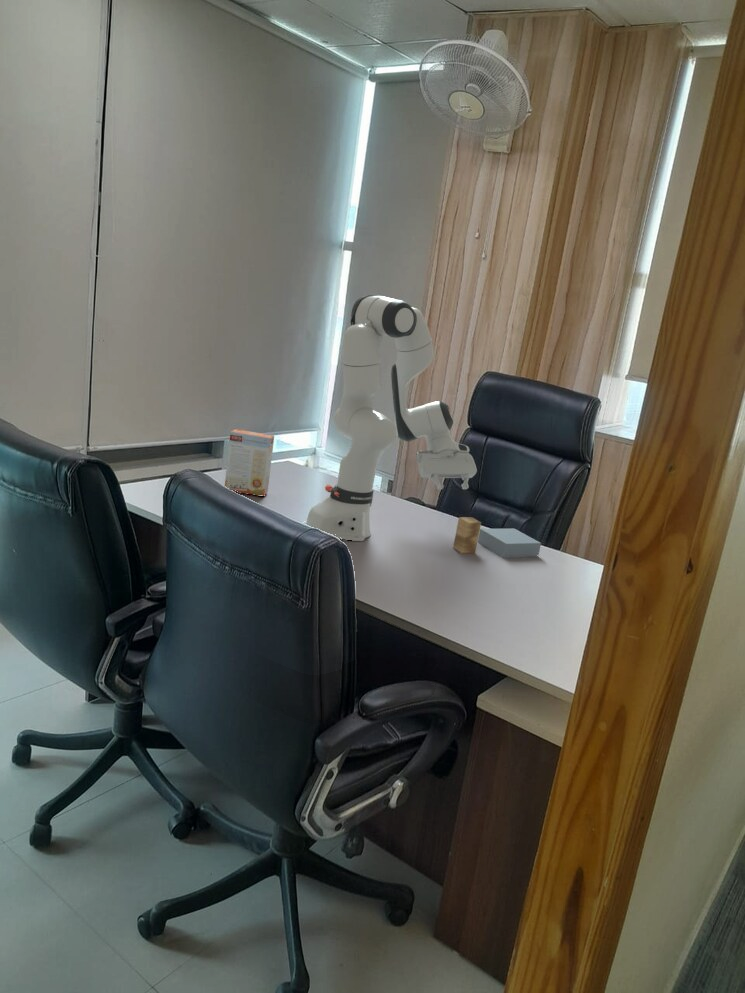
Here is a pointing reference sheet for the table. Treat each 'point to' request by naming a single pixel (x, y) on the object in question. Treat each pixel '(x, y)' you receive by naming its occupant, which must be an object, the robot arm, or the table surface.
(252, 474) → the cracker box
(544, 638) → the table surface
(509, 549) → the grey base block
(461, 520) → the oak block
